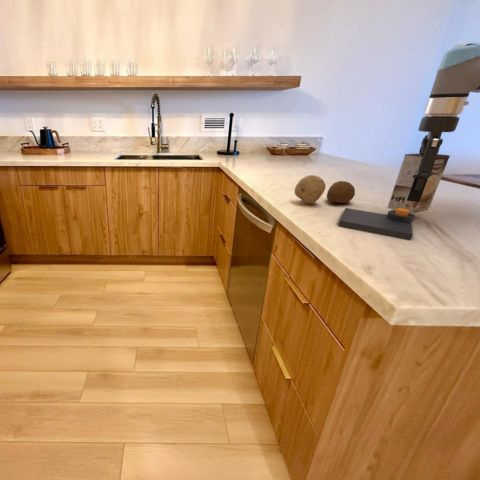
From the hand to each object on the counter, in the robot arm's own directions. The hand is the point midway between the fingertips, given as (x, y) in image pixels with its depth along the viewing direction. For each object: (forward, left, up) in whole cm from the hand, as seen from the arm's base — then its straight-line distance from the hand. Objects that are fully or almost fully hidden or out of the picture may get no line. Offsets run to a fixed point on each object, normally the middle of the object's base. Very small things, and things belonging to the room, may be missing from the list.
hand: (412, 196), depth 85 cm
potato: (+18, -5, -7) cm, 20 cm away
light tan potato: (+27, +3, -7) cm, 28 cm away
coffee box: (0, 0, -4) cm, 4 cm away
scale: (+7, +14, -6) cm, 17 cm away
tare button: (+2, +10, -3) cm, 10 cm away
